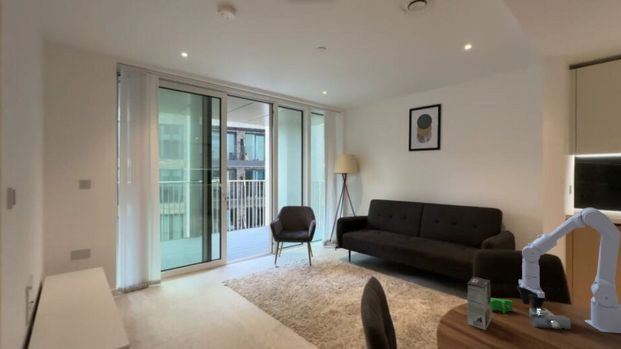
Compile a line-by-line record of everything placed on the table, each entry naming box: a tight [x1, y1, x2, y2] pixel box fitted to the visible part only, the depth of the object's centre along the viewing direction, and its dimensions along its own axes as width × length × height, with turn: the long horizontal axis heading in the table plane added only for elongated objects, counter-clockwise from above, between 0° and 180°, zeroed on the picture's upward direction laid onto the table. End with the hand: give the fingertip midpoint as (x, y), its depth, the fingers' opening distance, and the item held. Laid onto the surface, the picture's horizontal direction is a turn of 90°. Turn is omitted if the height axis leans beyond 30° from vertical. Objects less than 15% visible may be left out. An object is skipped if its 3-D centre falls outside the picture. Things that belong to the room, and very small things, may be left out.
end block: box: [529, 313, 572, 330], centre depth 109 cm, size 12×5×4 cm, turn 81°
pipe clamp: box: [491, 297, 513, 314], centre depth 123 cm, size 11×4×5 cm, turn 67°
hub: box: [528, 306, 555, 315], centre depth 114 cm, size 6×6×5 cm
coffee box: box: [466, 276, 492, 331], centre depth 113 cm, size 9×6×16 cm
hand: (531, 307), depth 122 cm, fingers open, 7 cm apart
